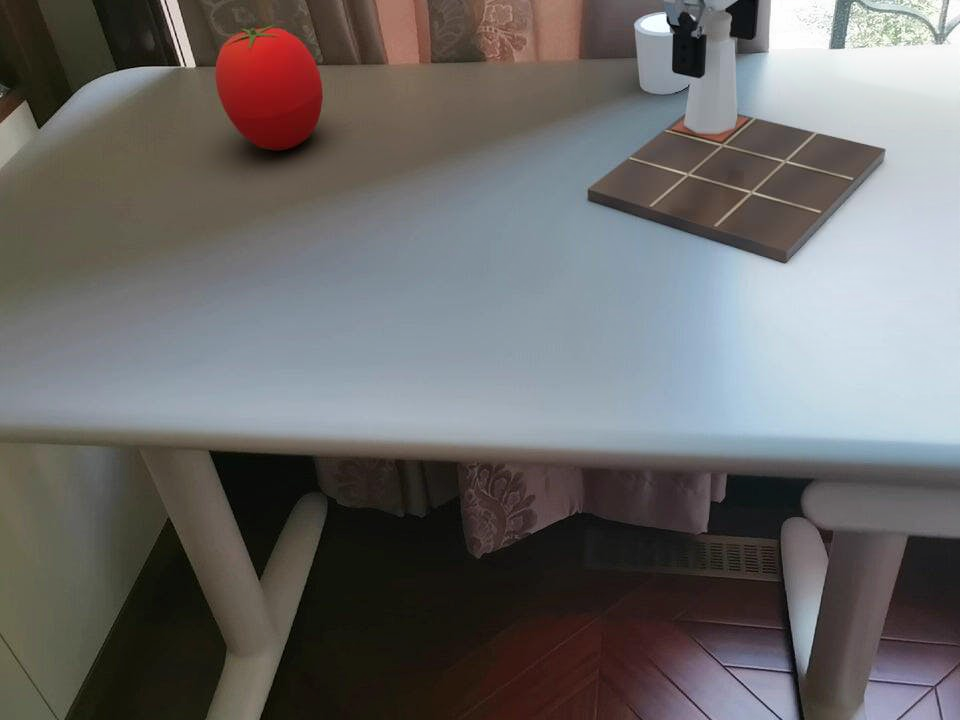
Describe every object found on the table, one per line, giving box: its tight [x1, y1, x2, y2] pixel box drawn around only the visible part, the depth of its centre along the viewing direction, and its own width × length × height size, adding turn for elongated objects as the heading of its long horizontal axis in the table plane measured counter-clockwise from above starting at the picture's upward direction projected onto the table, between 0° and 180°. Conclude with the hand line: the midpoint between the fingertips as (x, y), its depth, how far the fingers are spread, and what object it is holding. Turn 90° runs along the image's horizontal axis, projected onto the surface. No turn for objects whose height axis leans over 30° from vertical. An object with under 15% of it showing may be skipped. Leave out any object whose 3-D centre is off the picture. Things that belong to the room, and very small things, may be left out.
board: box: [587, 113, 886, 264], centre depth 90 cm, size 20×20×1 cm
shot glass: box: [633, 11, 696, 95], centre depth 106 cm, size 7×7×7 cm
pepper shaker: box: [684, 10, 738, 135], centre depth 93 cm, size 5×5×11 cm
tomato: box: [214, 23, 324, 151], centre depth 102 cm, size 11×11×13 cm
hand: (714, 55), depth 92 cm, fingers open, 9 cm apart
